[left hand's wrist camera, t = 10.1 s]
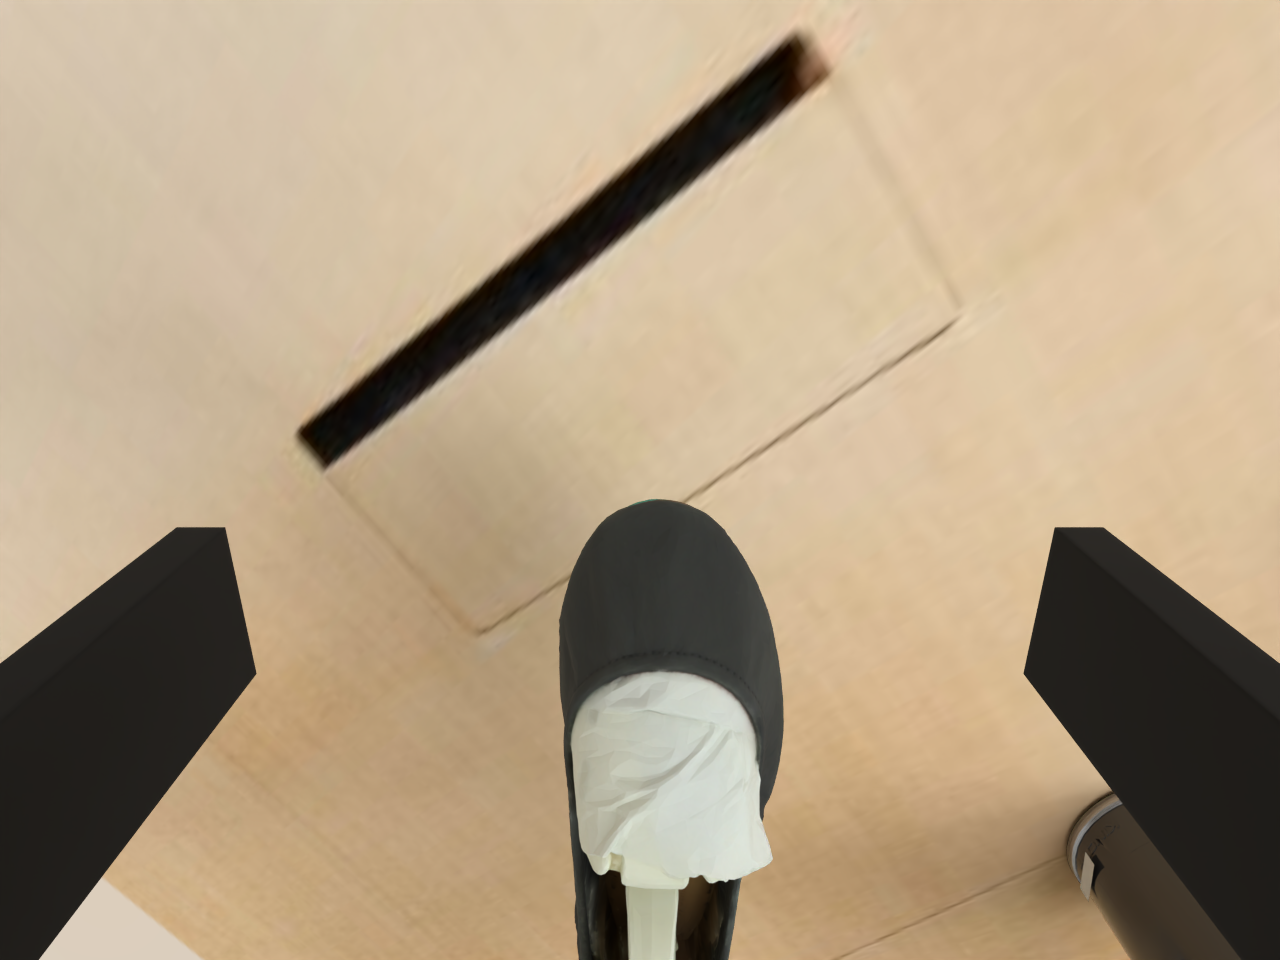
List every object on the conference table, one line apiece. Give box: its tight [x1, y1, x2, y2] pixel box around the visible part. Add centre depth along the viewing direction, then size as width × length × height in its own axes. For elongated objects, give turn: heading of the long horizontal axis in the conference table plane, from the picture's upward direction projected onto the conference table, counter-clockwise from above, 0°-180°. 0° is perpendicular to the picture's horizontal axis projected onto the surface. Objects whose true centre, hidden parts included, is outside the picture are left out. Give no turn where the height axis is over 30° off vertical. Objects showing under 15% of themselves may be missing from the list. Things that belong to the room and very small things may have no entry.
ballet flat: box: [559, 499, 784, 960], centre depth 28 cm, size 8×24×8 cm, turn 1°
